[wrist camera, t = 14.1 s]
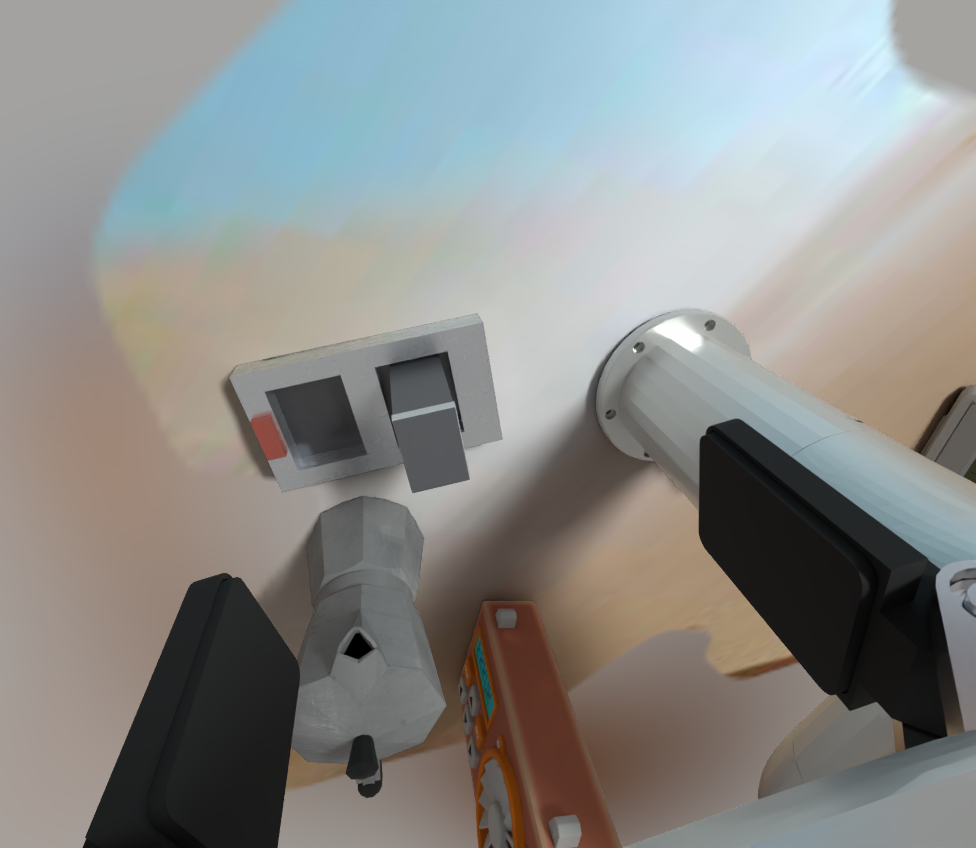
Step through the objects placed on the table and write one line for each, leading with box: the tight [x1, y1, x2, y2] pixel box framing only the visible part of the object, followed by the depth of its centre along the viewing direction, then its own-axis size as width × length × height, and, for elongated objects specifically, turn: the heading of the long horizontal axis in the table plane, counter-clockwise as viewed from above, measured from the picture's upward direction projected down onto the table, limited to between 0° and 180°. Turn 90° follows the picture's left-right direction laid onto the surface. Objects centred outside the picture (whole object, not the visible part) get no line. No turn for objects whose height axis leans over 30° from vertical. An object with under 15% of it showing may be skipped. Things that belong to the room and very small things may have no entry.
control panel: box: [458, 601, 622, 848], centre depth 41 cm, size 21×7×15 cm
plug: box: [389, 353, 470, 493], centre depth 32 cm, size 4×5×8 cm
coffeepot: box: [291, 496, 446, 798], centre depth 34 cm, size 15×9×18 cm, turn 177°
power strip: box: [229, 313, 502, 492], centre depth 34 cm, size 16×9×2 cm, turn 99°
